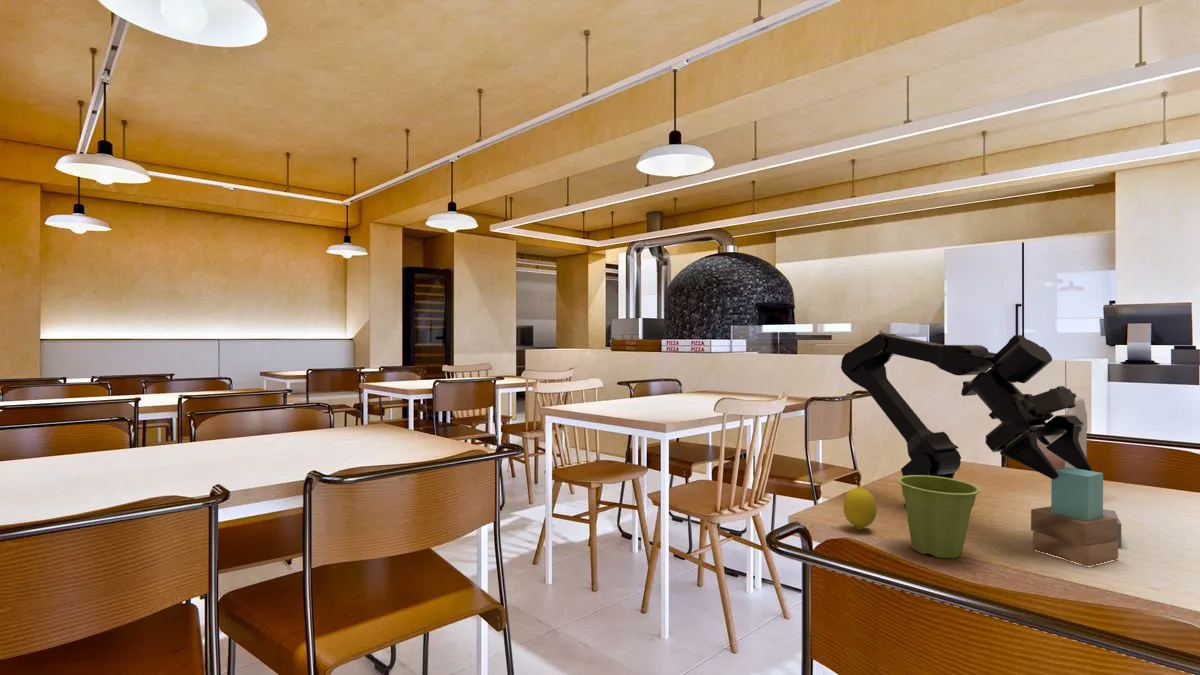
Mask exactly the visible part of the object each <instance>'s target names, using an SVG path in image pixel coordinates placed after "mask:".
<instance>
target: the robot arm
mask: <svg viewBox="0 0 1200 675" xmlns="http://www.w3.org/2000/svg"><path fill="white" fill-rule="evenodd" d="M893 355H896V356H899V357H900V356H901V357H905V358H909V359H913V360H917V361H921V362H922V361H923V362H926V363H929V364H930V363H931V364H932V365H934V366H936V367H937V368H938V369H939V370H942V371H945V372H946V373H949V374H952V375H954V376H959V377H960V376H974V377H973V378H972V379H971V380H966V381H962V388H961V392H960V394H961V396H962V397H967V396H976V395H977V397H979V399H980V400H981V401H982V403H984V405H986V407H987V408H988V409H989V410H990V411H991V412H989V414H988V417H989V418H991V420H999V421H1000V422H1001V423H1000V424H998V425H997V426H996V427H995V428H994V429H992V430H991V431H989V432H988V433H987V434H986V435H985V445H987V447H988V448H989V449H990V450H991V452H992V453H997V452H999V454H1000V455H1001V456H1005V457H1007V458H1010V459H1012V460H1013V461H1016V462H1017V463H1018V462H1019V463H1020V464H1021V465H1024V466H1026V467H1027V468H1030V469H1032V470H1033V471H1036V472H1038V473H1040V474H1041V475H1042V476H1043V475H1044V476H1045V477H1048V478H1049V479H1050V480H1052V479H1056V478H1057V477H1059V474H1058V473H1057V471H1056V470H1055V467H1054V465H1053V463H1051V461H1050V460H1049V458H1048V457H1047V456H1046V455H1045V453H1044V452H1043V451H1042V449H1041V447H1040V446H1039V445H1038V441H1039V442H1041V443H1042V444H1043V445H1046V447H1045V449H1047V450H1048V451H1050V452H1051V453H1052V454H1054V455H1055V456H1057V457H1059V458H1060V459H1062V460H1063V461H1066V462H1068V463H1069V464H1071V465H1072V466H1074V467H1075V468H1077V469H1082V470H1088V471H1093V469H1092V467H1091V465H1090V463H1089V460H1088V459H1086V458H1087V456H1086V457H1085V454H1084V452H1083V450H1082V448H1081V446H1080V444H1079V441H1078V438H1079V433H1080V432H1081V431H1082V426H1083V423H1082V422H1081V421H1080V420H1079V419H1078V418H1077V417H1076V416H1075V415H1066V414H1061V415H1060V414H1059V415H1055V416H1054V412H1055V413H1056V412H1059V411H1062V410H1065V409H1068V408H1073V407H1076V405H1075V403H1074V401H1075V398H1076V397H1077V394H1076V393H1074V392H1072V390H1071V388H1067V387H1065V386H1064V385H1061V386H1060V385H1059V386H1056V387H1055V388H1054V387H1053V388H1050V389H1048V391H1047V390H1046V391H1044V392H1041V393H1038V394H1035V395H1033V394H1030V393H1023V392H1021V391H1020V389H1018V387H1016V386H1015V384H1016V383H1019V384H1026V383H1028V382H1029V381H1030V380H1031V379H1032V378H1034V377H1035V376H1036V375H1037V374H1039V372H1041V371H1042V370H1044V368H1045V367H1046V366H1048V365H1049V364H1050V363H1052V361H1053V357H1052V354H1051V353H1050V352H1049V350H1047V349H1046V348H1045V347H1044V346H1041V345H1039V344H1037V343H1036V342H1034V341H1032V340H1030V339H1027V338H1026V337H1025V336H1024V335H1022V334H1021V335H1020V334H1018V335H1017V334H1015V335H1013V336H1012V337H1011V338H1010V339H1008V342H1007V343H1005V345H1004V346H1003V347H1002V348H1001V349H1000V350H999V351H998V352H992V351H991V352H990V351H989V349H988V348H987V347H986V346H983V345H981V344H941V343H936V342H931V341H926V340H921V339H915V338H911V337H906V336H900V335H897V334H894V333H879V334H876V335H875V336H873V337H872V338H871V339H870V340H868V341H866V342H864V343H863V344H861V345H859V346H857V347H855V348H854V349H852V350H851V351H848V352H846V353H845V354H844V355H843V356H842V359H841V363H840V364H841V366H840V368H841V371H842V373H843V375H845V376H846V378H848V379H849V380H850V381H851V382H852V383H853V384H856V385H857V386H859V387H861V388H863V389H864V390H866V391H867V393H869V395H870V396H871V398H872V399H873V400H874V401H875V403H876V404H877V406H878V407H879V408H880V409H881V411H882V412H883V413H884V414H885V415H886V417H887V418H888V419H889V421H890V422H891V423H892V425H893V426H894V427H895V429H896V430H897V431H898V432H899V434H900V435H901V437H903V439H904V440H905V443H906V448H907V455H908V457H909V458H910V461H909V462H907V463H906V464H905V465H904V466H903V467H902V468H900V470H901V473H902V474H901V475H902V476H909V475H924V476H925V475H926V476H937V477H945V478H951V479H954V476H955V473H956V472H958V470H959V469H960V466H961V459H962V457H961V454H960V451H958V449H959V446H957V445H955V444H954V442H953V441H952V440H951V438H950V437H949V435H948V434H947V433H946V432H945V431H937V432H934V431H932V430H930V429H929V428H928V427H927V426H926V424H925V423H924V422H923V421H922V420H921V418H919V416H918V414H916V413H915V412H914V410H913V409H912V408H911V406H910V405H909V404H908V402H907V401H905V400H906V399H904V398H903V396H902V395H901V394H900V393H899V392H898V390H897V389H896V388H895V387H894V386H893V384H892V383H891V382H890V380H889V379H888V377H887V368H886V364H887V363H888V362H889V361H890V360H891V359H892V356H893ZM1046 421H1047V422H1046ZM903 507H905V508H906V503H903Z"/></svg>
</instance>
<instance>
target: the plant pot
mask: <svg viewBox="0 0 1200 675" xmlns="http://www.w3.org/2000/svg"><path fill="white" fill-rule="evenodd" d="M897 481H898V484H900V486H901V489H902V490H901V491H902V496H903V498H904V502H905V503H906V507H905V510H906V517H907V522H908V530H909V536H910V544H911V547H912V549H913V550H914V551H917V552H919V553H920V554H924V555H926V554H929V555H931V556H933V557H935V558H938V559H956V558H959V557H960V556H961V555H962V554H963V550H964V549H963V548H964V544H965V540H966V536H967V531H968V527H969V522H970V518H971V513H972V509H973V507H974V505H975V502H976V498H977V495H979V494H980V493H981V488H979V486H977V485H975V484H973V483H970V482H967V481H964V480H959V479H955V478H953V479H951V478H945V477H937V476H926V475H925V476H924V475H909V476H903V475H902V476H900V477H898V478H897Z"/></svg>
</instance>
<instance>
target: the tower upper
mask: <svg viewBox="0 0 1200 675" xmlns="http://www.w3.org/2000/svg"><path fill="white" fill-rule="evenodd" d="M1030 531H1032V532H1034V531H1035V532H1039V533H1042V534H1045V535H1048V536H1052V537H1055V538H1058V539H1061V540H1065V541H1068V542H1071V543H1074V544H1078V545H1081V546H1089V545H1095V544H1100V543H1105V542H1111V541H1116V540H1117V518H1113V517H1109V516H1105V515H1103V517H1100V518H1097V519H1093V520H1090V521H1085V520H1081V519H1076V518H1072V517H1068V516H1063V515H1059V514H1055V513H1051V505H1049V506H1045V507H1037V508H1031V509H1030Z"/></svg>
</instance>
